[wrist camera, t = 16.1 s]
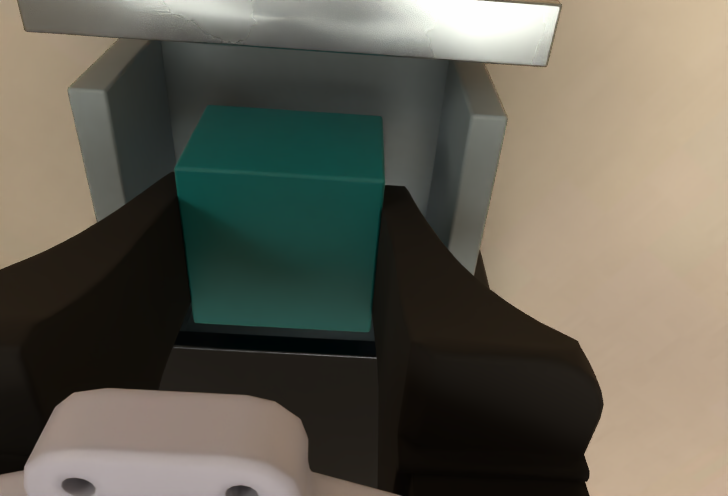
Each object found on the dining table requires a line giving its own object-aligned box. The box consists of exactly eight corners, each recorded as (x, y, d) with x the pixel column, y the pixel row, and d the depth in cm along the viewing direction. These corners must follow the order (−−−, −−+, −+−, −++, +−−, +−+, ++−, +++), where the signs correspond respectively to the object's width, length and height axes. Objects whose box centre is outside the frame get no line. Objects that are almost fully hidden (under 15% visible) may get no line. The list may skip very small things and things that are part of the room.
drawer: (61, -360, 12) (-95, -438, 8) (561, -315, 13) (654, -370, 8) (166, 300, 22) (120, 414, 18) (442, 315, 23) (458, 431, 19)
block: (206, 103, 14) (172, 167, 12) (383, 115, 14) (385, 180, 12) (219, 246, 16) (192, 324, 14) (370, 254, 17) (370, 333, 14)
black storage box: (141, 198, 21) (60, 340, 15) (473, 218, 21) (508, 363, 16) (182, 443, 29) (138, 595, 23) (425, 455, 29) (437, 607, 23)
